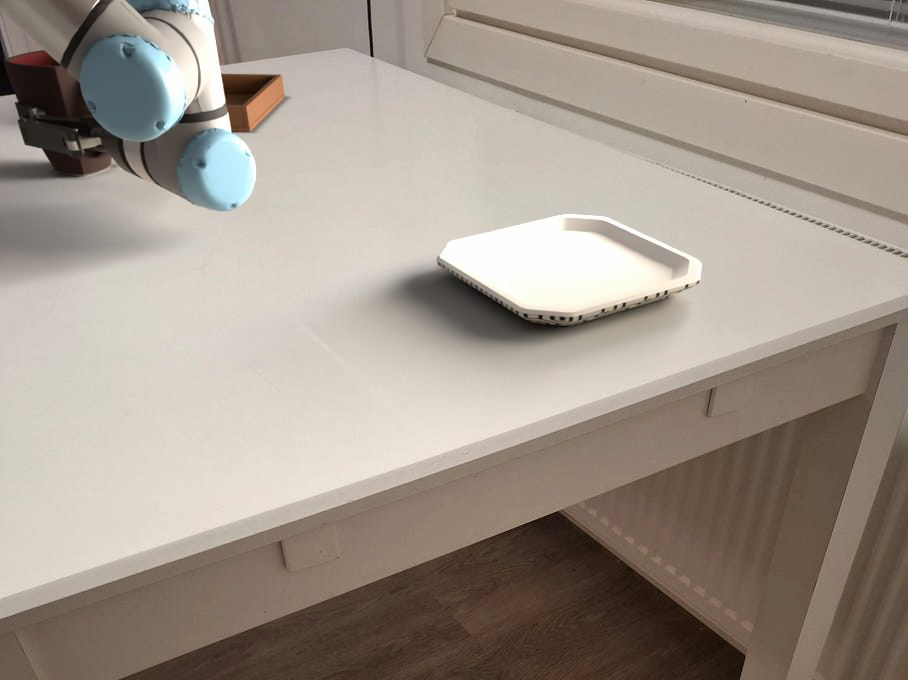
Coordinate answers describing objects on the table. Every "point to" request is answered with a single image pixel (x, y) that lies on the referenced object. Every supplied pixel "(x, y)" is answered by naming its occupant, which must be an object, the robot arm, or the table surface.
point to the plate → (570, 268)
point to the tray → (251, 98)
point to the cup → (54, 104)
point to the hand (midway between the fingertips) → (63, 107)
